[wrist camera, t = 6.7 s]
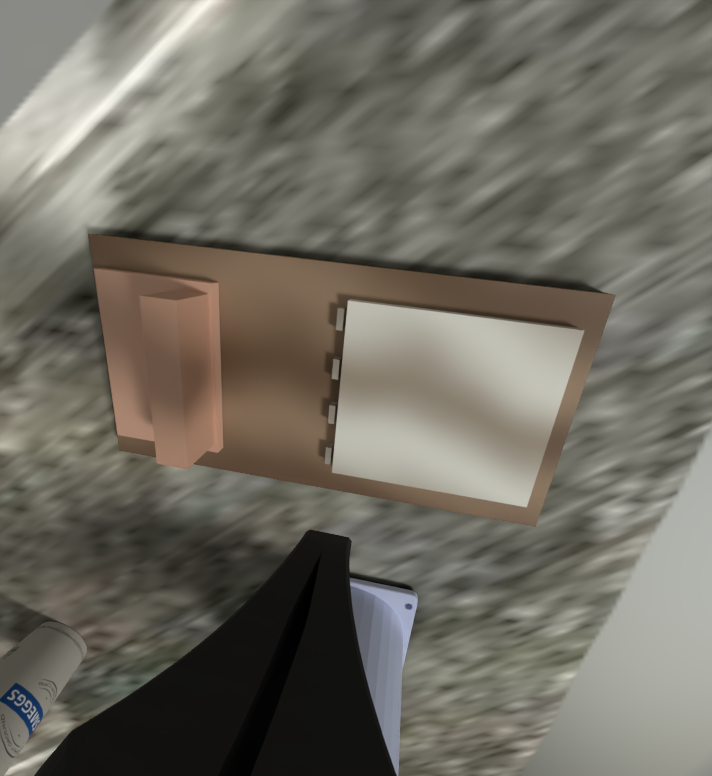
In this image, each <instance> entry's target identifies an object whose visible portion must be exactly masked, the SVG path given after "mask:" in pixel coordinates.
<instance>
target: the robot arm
mask: <svg viewBox="0 0 712 776" xmlns="http://www.w3.org/2000/svg"><path fill="white" fill-rule="evenodd" d="M351 542H352V541H351V540H350V539H349V537H344V536H339V535H334V534H329V533H324V532H319V531H315V530H309V531H307V532H306V533H305V534H304V536H303V537H302V539H301V540H300V542H299V543H298V544H297V546H296V547H295V548H294V550H293V551H292V552H291V553H290V555H289V556H288V557H287V558H286V560H285V561H284V562H283V563H282V564H281V566H280V567H279V568H278V569H277V570H276V571H275V572H274V573H273V575H272V576H271V577H270V578H269V579H268V580H267V581H266V582H265V584H264V585H263V586H262V587H261V588H260V589H259V590H258V591H257V592H256V593H255V594H254V595H253V596H252V597H251V598H250V599H249V600H248V601H247V602H246V603H245V604H244V605H243V606H242V607H241V608H240V609H239V610H238V611H237V612H236V613H235V614H234V615H232V616H231V617H230V618H229V619H228V620H227V621H226V622H225V623H224V624H222V625H221V626H220V627H219V628H218V629H217V630H216V631H214V632H213V633H212V634H211V635H210V636H208V637H207V638H206V639H205V640H204V641H202V642H201V643H200V644H199V645H197V646H196V647H195V648H194V649H192V650H191V651H190V652H189V653H187V654H186V655H185V656H184V657H182V658H181V659H180V660H178V661H177V662H176V663H174V664H173V665H172V666H170V667H169V668H167V669H166V670H164V671H163V672H162V673H160V674H159V675H157V676H156V677H155V678H153V679H152V680H150V681H149V682H147V683H146V684H145V685H143V686H142V687H140V688H139V689H138V690H136V691H135V692H133V693H132V694H130V695H129V696H127V697H126V698H124V699H122V700H121V701H119V702H118V703H116V704H114V705H113V706H111V707H110V708H108V709H106V710H105V711H103V712H101V713H100V714H98V715H97V716H95V717H93V718H92V719H90V720H89V721H87V722H85V723H84V724H82V725H80V726H79V727H77V728H76V729H74V730H72V731H71V732H70V733H69V734H68V736H67V737H66V738H65V739H64V740H63V742H62V743H61V744H60V745H59V746H58V747H57V749H56V750H55V751H54V752H53V753H52V754H51V755H50V757H49V758H48V759H47V760H46V761H45V763H44V764H43V765H42V766H41V767H40V769H39V770H38V771H37V773H36V774H35V775H34V776H398V769H399V741H400V713H401V686H402V670H403V665H404V661H405V656H406V652H407V647H408V643H409V638H410V634H411V629H412V625H413V620H414V616H415V612H416V607H417V603H418V595H417V594H416V593H415V592H414V591H411V590H407V589H402V588H398V587H393V586H388V585H383V584H378V583H374V582H369V581H364V580H359V579H354V578H350V573H349V557H350V549H351Z"/></svg>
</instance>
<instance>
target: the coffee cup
mask: <svg viewBox="0 0 712 776" xmlns="http://www.w3.org/2000/svg"><path fill="white" fill-rule="evenodd" d="M86 654H87V646H86V644H85V641H84V640H83V639H82V637H81V636H80V635H79V634H78V633H77V632H76V631H74V630H73V629H71V628H70V627H68V626H66V625H64V624H61V623H58V622H52V621H49V622H44V623H43V624H41V625H40V626H39V627H37V628H36V629H35V630H34V631H33V632H31V633H30V634H29V635H28V636H27V637H25V638H24V639H23V640H22V641H20V642H19V643H18V644H17V645H16V646H14V647H13V648H12V649H11V650H10V651H8V652H7V653H6V654H5V655H4V656H2V657H1V658H0V776H4V774H5V773H6V771H7V770H8V768H9V767H10V766H11V764H12V763H13V761H14V760H15V758H16V757H17V755H18V754H19V752H20V751H21V749H22V748H23V746H24V745H25V744H26V742H27V741H28V739H29V738H30V736H31V735H32V733H33V732H34V730H35V729H36V727H37V726H38V725H39V723H40V722H41V720H42V719H43V717H44V716H45V714H46V713H47V711H48V710H49V708H50V707H51V705H52V704H53V703H54V701H55V700H56V698H57V697H58V695H59V694H60V692H61V691H62V689H63V688H64V686H65V685H66V683H67V682H68V681H69V679H70V678H71V676H72V675H73V673H74V672H75V670H76V669H77V667H78V666H79V664H80V663H81V662H82V660H83V659H84V657H85V655H86Z"/></svg>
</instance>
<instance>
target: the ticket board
mask: <svg viewBox="0 0 712 776" xmlns="http://www.w3.org/2000/svg"><path fill="white" fill-rule="evenodd" d="M88 236H89V243H90V250H91V256H92V263H93V270H94V268H107V269H115V270H123V271H131V272H139V273H147V274H155V275H163V276H171V277H179V278H187V279H194V280H202V281H210V282H218V283H219V316H220V350H221V385H222V419H223V448H222V449H221V450H220V451H219V452H218V453H216V452H211V451H207V452H206V453H204V454H203V455H202V456H201V457H200V458H199V459H198V460H197V461H196V462H195V463H194V464H196V465H202V466H207V467H213V468H218V469H223V470H229V471H234V472H240V473H245V474H251V475H256V476H262V477H267V478H273V479H278V480H283V481H289V482H294V483H300V484H305V485H311V486H316V487H322V488H327V489H333V490H338V491H343V492H349V493H354V494H360V495H365V496H371V497H376V498H382V499H387V500H393V501H398V502H403V503H409V504H414V505H420V506H425V507H431V508H436V509H442V510H447V511H453V512H458V513H463V514H469V515H474V516H480V517H485V518H491V519H496V520H502V521H507V522H513V523H518V524H523V525H529V526H534V527H536V524H537V521H538V518H539V515H540V512H541V509H542V507H543V504H544V501H545V498H546V495H547V492H548V489H549V486H550V483H551V481H552V478H553V475H554V472H555V469H556V466H557V463H558V460H559V457H560V455H561V452H562V449H563V446H564V443H565V440H566V437H567V434H568V431H569V429H570V426H571V423H572V420H573V417H574V414H575V411H576V408H577V405H578V403H579V400H580V397H581V394H582V391H583V388H584V385H585V382H586V379H587V377H588V374H589V371H590V368H591V365H592V362H593V359H594V356H595V353H596V351H597V348H598V345H599V342H600V339H601V336H602V333H603V330H604V327H605V325H606V322H607V319H608V316H609V313H610V310H611V307H612V304H613V301H614V299H615V296H616V295H613V294H608V293H603V292H594V291H585V290H577V289H568V288H559V287H551V286H542V285H533V284H525V283H516V282H507V281H499V280H490V279H482V278H473V277H464V276H456V275H447V274H438V273H430V272H421V271H412V270H404V269H395V268H386V267H378V266H369V265H361V264H352V263H343V262H335V261H326V260H317V259H309V258H300V257H291V256H283V255H274V254H265V253H257V252H248V251H239V250H231V249H222V248H214V247H205V246H196V245H188V244H179V243H170V242H162V241H153V240H144V239H136V238H127V237H118V236H110V235H98V234H88ZM94 277H95V273H94ZM95 284H96V280H95ZM96 291H97V287H96ZM97 298H98V294H97ZM98 305H99V301H98ZM99 312H100V308H99ZM100 319H101V315H100ZM101 326H102V322H101ZM102 333H103V329H102ZM103 340H104V336H103ZM104 347H105V343H104ZM105 354H106V350H105ZM106 360H107V357H106ZM107 367H108V364H107ZM108 374H109V371H108ZM109 381H110V377H109ZM110 388H111V384H110ZM111 395H112V391H111ZM112 402H113V398H112ZM113 409H114V405H113ZM114 416H115V412H114ZM115 423H116V419H115ZM116 430H117V426H116ZM117 437H118V444H119V450H120V451H125V452H131V453H136V454H142V455H147V456H153V457H156V450H155V442H154V441H149V440H143V439H138V438H132V437H126V436H121V435H118V433H117Z"/></svg>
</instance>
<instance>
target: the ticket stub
mask: <svg viewBox="0 0 712 776" xmlns="http://www.w3.org/2000/svg"><path fill="white" fill-rule="evenodd" d="M94 273H95V280H96V287H97V294H98V301H99V308H100V315H101V322H102V329H103V336H104V343H105V350H106V357H107V364H108V371H109V377H110V384H111V391H112V398H113V405H114V412H115V419H116V426H117V433H118V435H121V436H126V437H132V438H138V439H143V440H149V441H154V442H155V450H156V459H157V464H162V465H168V466H173V467H178V468H184V469H189V468H190V467H191V466H192V465H193V464H194V463H195V462H196V461H197V460H198V459H199V458H200V457H201V456H202V455H203V454H204V453H206V452H207V451H211V452H216V453H218V452H219V451H220V450H221V449H222V448H223V419H222V385H221V350H220V316H219V283H218V282H210V281H202V280H194V279H187V278H179V277H171V276H163V275H155V274H147V273H139V272H131V271H123V270H115V269H107V268H94Z"/></svg>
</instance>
